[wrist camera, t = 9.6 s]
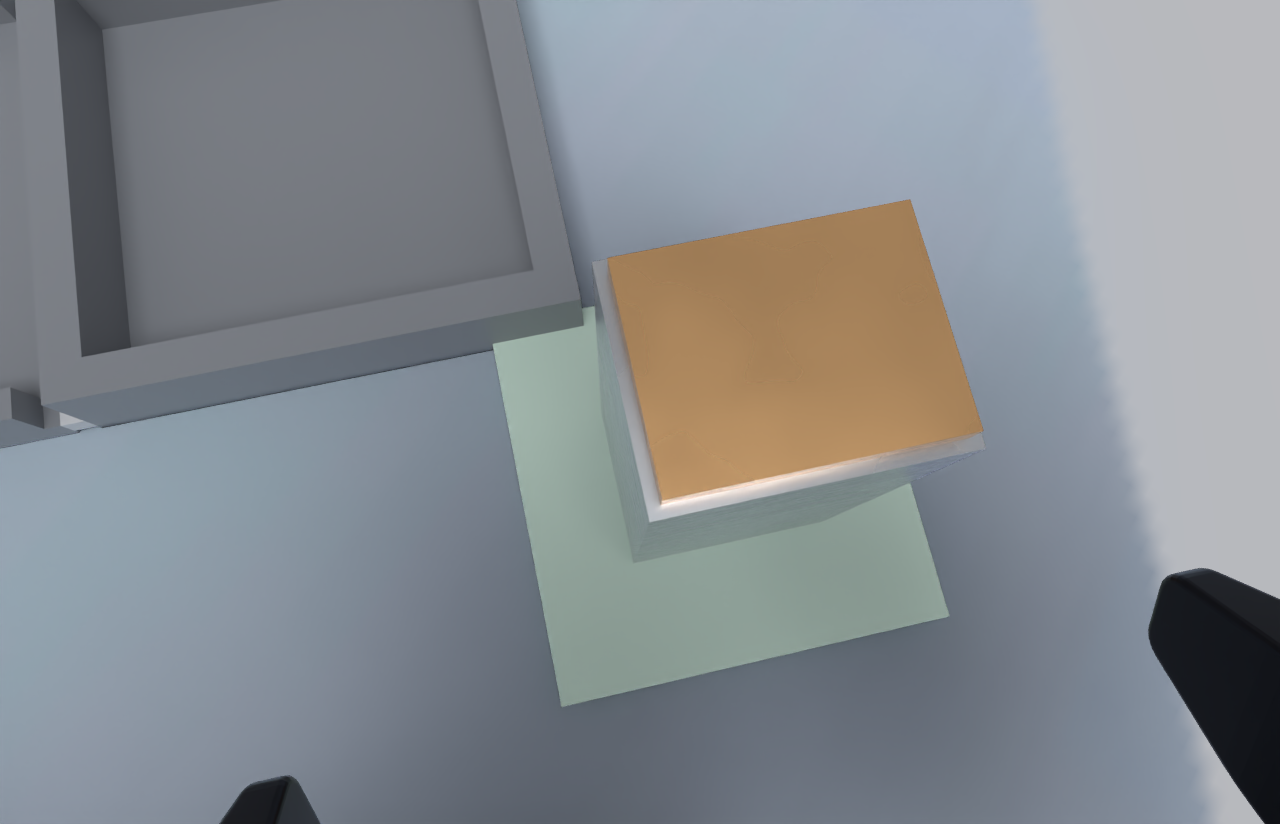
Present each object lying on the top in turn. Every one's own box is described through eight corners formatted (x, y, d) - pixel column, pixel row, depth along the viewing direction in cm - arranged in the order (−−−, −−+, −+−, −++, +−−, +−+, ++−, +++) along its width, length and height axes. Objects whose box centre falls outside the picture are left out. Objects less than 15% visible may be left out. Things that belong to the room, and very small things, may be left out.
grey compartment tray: (584, 331, 24) (580, 299, 21) (-449, 537, 22) (-585, 528, 19) (500, -59, 26) (488, -127, 24) (-420, 90, 24) (-534, 32, 22)
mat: (942, 616, 22) (949, 616, 22) (562, 704, 21) (561, 707, 21) (839, 263, 24) (843, 256, 24) (491, 332, 24) (489, 326, 23)
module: (822, 521, 22) (1001, 441, 12) (634, 563, 22) (650, 518, 11) (783, 375, 23) (919, 185, 13) (601, 413, 23) (590, 247, 12)
